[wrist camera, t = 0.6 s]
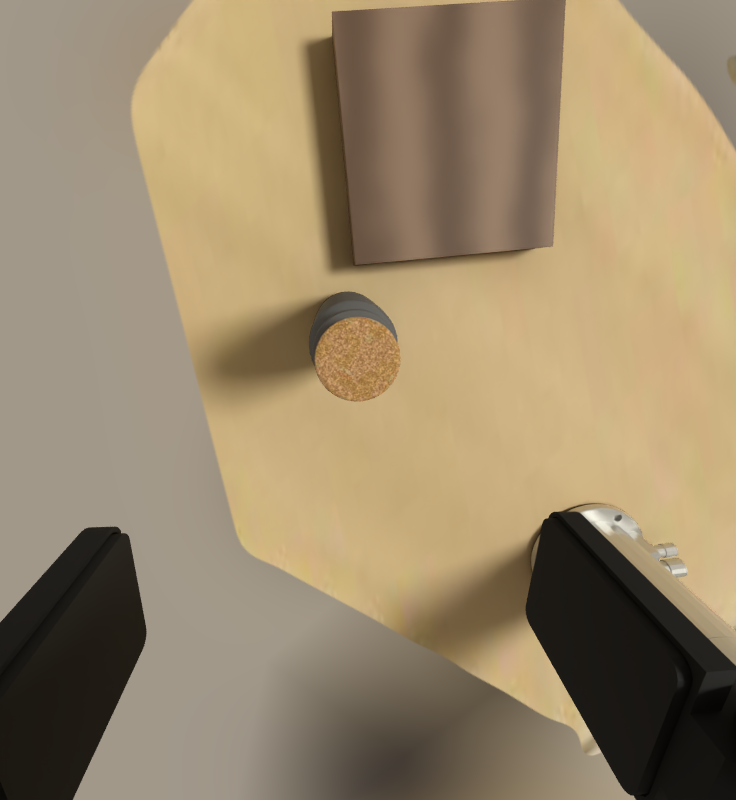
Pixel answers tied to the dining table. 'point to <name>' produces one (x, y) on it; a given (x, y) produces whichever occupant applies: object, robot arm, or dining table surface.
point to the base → (449, 126)
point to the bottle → (354, 347)
